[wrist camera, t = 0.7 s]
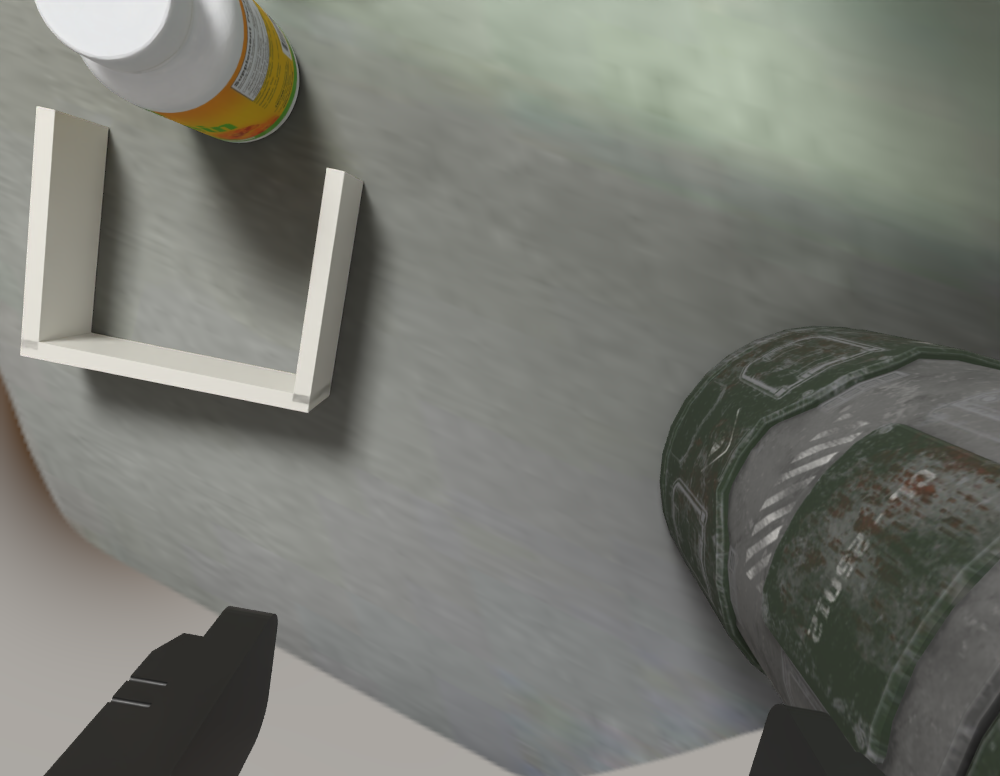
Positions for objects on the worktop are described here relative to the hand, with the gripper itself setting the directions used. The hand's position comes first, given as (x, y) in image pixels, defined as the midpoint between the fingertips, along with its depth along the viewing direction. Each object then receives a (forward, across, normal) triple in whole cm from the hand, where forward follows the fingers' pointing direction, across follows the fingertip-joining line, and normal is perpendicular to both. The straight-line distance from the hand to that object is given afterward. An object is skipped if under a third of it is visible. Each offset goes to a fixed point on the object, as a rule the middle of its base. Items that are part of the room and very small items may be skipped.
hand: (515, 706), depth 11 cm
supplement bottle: (+26, +16, -12) cm, 33 cm away
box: (+25, +16, -3) cm, 30 cm away
